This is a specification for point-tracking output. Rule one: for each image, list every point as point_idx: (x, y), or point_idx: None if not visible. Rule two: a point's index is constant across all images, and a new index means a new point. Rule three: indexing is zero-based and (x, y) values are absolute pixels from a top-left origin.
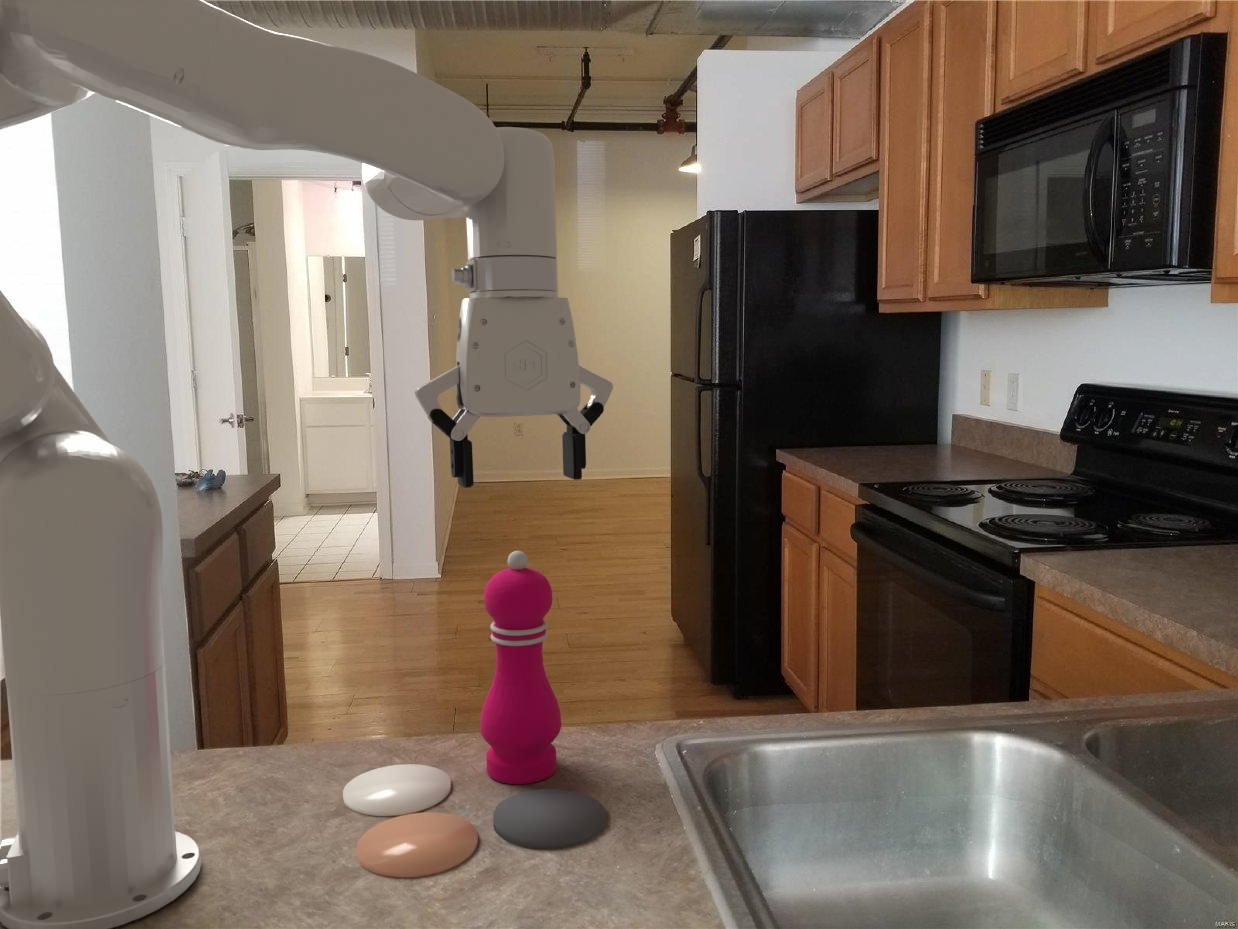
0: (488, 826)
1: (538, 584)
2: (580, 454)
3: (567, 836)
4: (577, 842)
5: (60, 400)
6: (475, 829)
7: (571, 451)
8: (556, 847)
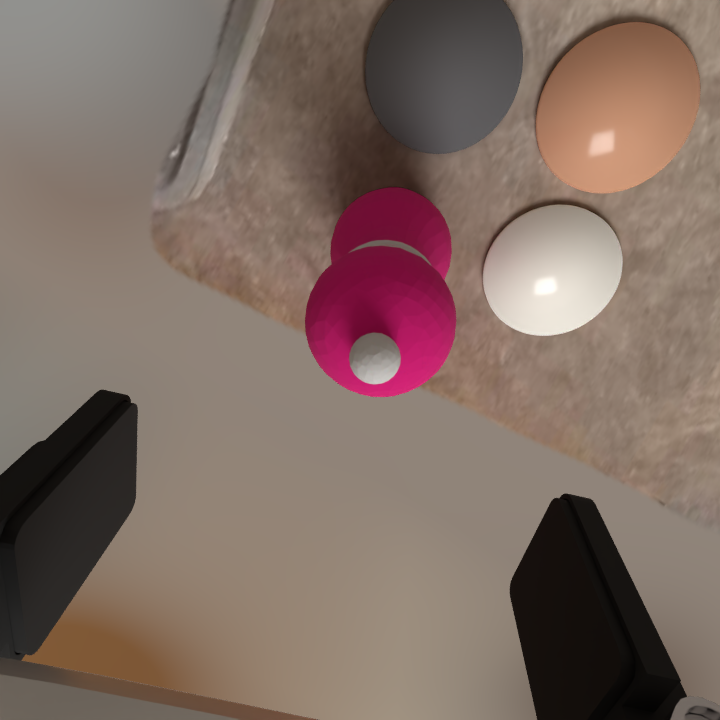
0: (515, 107)
1: (358, 275)
2: (42, 446)
3: None
4: None
5: None
6: (543, 93)
7: (71, 492)
8: None
